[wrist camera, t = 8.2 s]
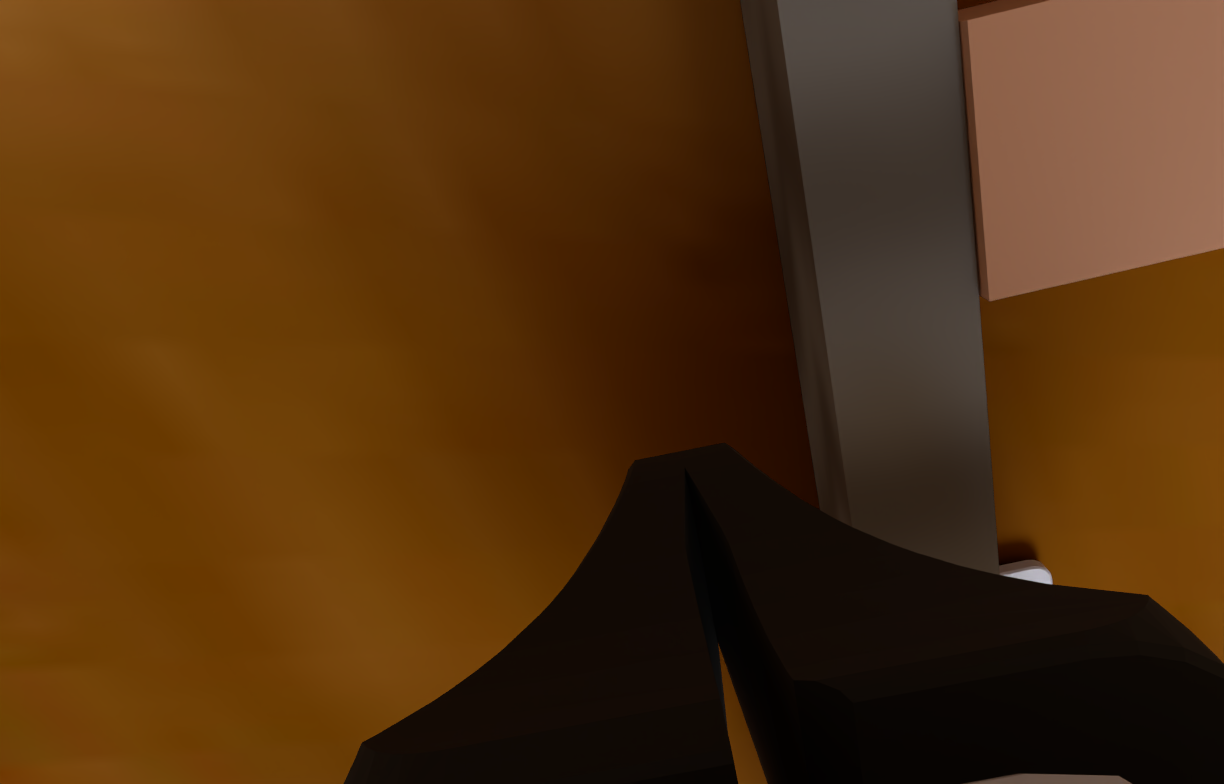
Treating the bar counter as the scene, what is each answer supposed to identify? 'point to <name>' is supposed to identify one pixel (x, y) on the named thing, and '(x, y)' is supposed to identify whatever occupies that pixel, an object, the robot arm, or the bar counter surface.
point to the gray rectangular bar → (880, 263)
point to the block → (1091, 136)
